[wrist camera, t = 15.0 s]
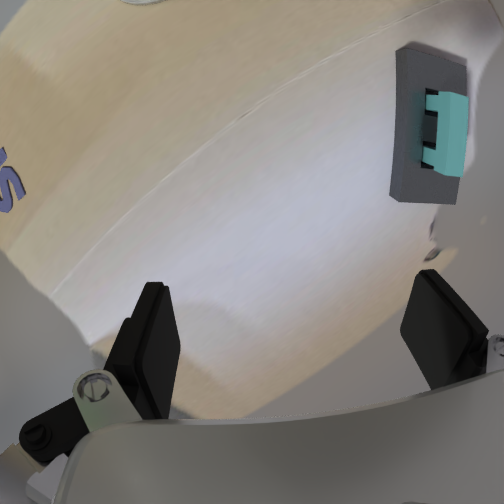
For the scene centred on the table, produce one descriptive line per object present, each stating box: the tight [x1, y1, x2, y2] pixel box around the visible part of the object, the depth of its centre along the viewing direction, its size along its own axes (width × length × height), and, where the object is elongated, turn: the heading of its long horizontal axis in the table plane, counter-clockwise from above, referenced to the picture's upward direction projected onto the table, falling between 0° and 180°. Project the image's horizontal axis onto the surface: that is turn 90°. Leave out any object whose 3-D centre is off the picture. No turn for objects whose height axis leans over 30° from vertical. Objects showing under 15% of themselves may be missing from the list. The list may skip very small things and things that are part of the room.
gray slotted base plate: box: [389, 48, 466, 205], centre depth 33 cm, size 20×10×3 cm, turn 1°
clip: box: [421, 91, 469, 177], centre depth 31 cm, size 10×3×8 cm, turn 1°
